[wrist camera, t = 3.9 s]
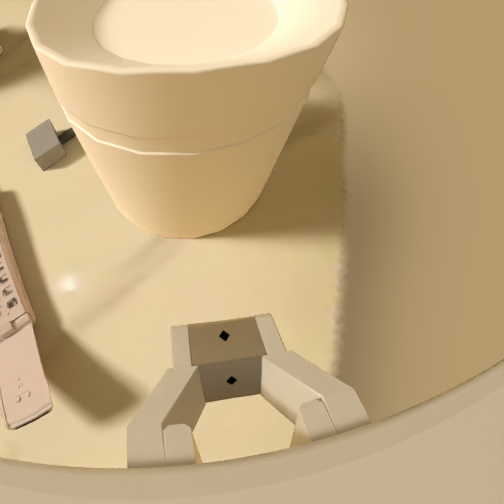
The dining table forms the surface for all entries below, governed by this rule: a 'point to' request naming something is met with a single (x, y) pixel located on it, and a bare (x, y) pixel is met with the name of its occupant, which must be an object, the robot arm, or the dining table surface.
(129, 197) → the canister
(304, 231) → the dining table surface
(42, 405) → the mobile phone
